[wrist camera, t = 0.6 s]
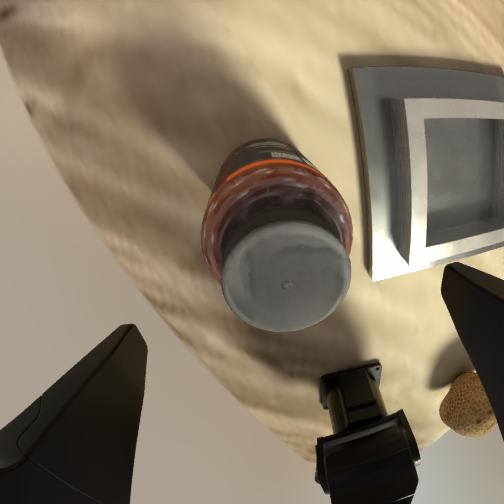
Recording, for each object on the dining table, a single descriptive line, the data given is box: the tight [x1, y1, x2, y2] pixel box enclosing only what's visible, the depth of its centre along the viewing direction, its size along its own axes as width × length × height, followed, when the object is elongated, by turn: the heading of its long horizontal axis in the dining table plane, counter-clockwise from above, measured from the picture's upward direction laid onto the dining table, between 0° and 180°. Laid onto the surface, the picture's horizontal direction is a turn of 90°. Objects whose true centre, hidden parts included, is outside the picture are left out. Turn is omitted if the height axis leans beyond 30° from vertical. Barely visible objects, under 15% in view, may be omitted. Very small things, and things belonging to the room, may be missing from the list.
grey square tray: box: [348, 67, 504, 281], centre depth 16 cm, size 15×15×3 cm
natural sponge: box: [439, 372, 497, 437], centre depth 26 cm, size 9×9×10 cm
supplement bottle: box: [201, 139, 353, 332], centre depth 14 cm, size 6×6×11 cm
